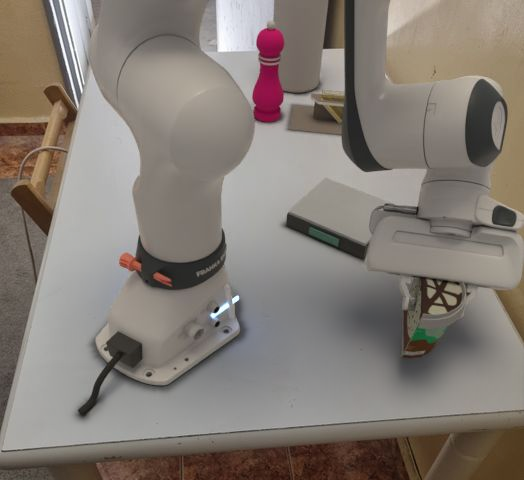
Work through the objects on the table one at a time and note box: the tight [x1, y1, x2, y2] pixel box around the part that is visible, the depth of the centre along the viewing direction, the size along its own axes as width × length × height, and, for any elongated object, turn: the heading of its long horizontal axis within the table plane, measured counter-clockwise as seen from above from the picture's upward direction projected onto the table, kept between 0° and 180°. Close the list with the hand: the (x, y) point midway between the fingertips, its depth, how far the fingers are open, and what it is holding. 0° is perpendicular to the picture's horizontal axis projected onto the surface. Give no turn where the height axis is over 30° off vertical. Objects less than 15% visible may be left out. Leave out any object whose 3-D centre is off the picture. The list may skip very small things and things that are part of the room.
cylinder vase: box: [272, 0, 329, 94], centre depth 124 cm, size 12×12×25 cm
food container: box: [401, 277, 466, 359], centre depth 71 cm, size 12×6×10 cm, turn 170°
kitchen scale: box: [285, 177, 397, 260], centre depth 96 cm, size 14×16×3 cm
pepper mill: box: [251, 19, 285, 123], centre depth 114 cm, size 7×7×20 cm
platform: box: [288, 89, 345, 136], centre depth 119 cm, size 12×18×7 cm, turn 83°
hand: (432, 314), depth 70 cm, fingers closed on food container, 5 cm apart
